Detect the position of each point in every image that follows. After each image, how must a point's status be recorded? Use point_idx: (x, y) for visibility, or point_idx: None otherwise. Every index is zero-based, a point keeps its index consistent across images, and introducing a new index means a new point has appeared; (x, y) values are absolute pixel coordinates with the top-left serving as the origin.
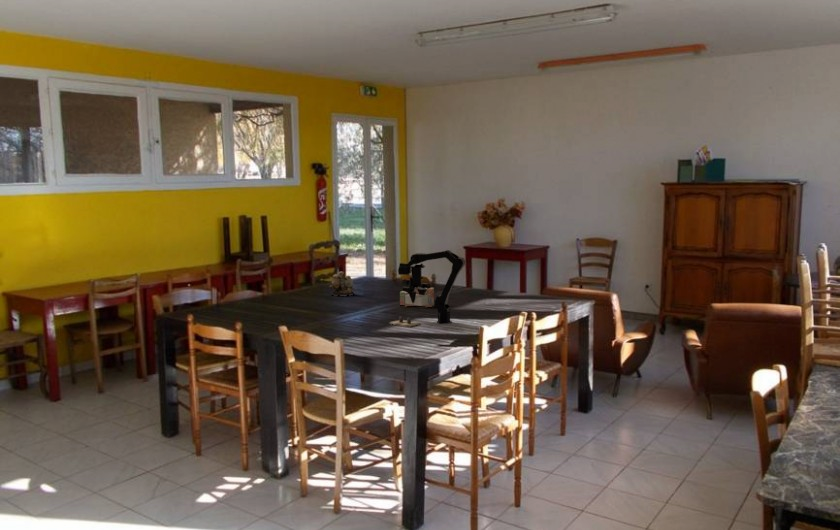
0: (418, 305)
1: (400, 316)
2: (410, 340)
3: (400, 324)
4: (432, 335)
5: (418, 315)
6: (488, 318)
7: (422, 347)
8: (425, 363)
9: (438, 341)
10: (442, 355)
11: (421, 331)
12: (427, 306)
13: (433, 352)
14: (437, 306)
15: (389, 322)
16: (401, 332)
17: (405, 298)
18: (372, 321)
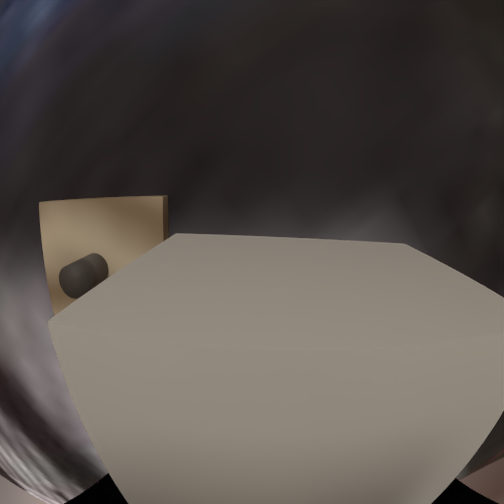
0: None
1: (74, 270)
2: (12, 436)
3: (54, 312)
4: (89, 478)
5: (461, 167)
6: (467, 464)
7: (20, 467)
8: (3, 475)
9: (71, 491)
10: (36, 494)
11: (86, 442)
12: None
13: (28, 484)
14: None
15: (39, 204)
16: (15, 381)
17: (125, 269)
18: (58, 47)
